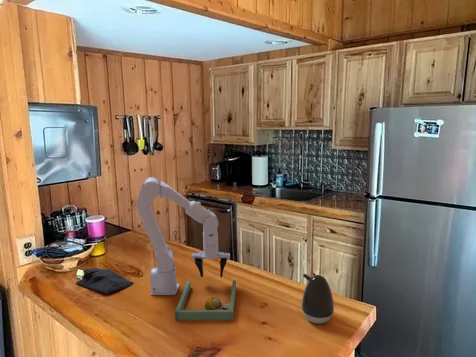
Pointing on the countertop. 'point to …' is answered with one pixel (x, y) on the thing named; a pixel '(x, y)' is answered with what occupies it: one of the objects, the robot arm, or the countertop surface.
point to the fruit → (215, 304)
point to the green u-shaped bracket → (204, 314)
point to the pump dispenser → (317, 300)
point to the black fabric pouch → (103, 280)
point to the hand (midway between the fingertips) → (211, 276)
